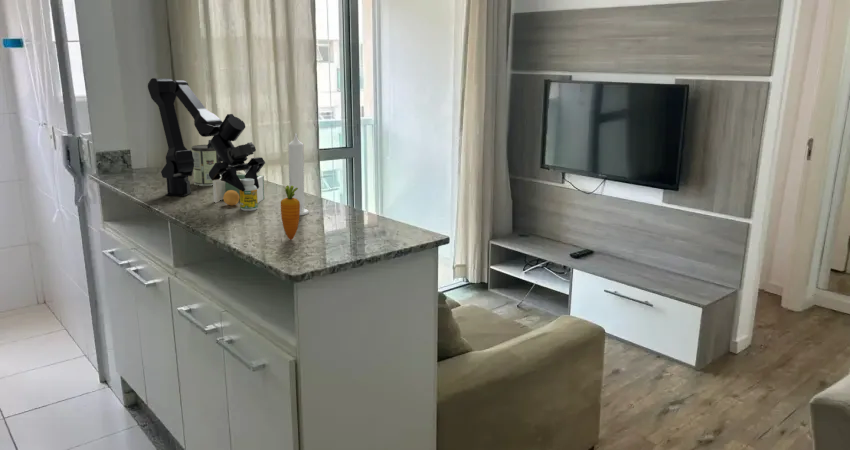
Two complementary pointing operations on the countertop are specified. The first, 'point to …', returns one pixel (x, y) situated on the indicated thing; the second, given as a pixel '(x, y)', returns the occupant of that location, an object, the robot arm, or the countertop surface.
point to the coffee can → (203, 164)
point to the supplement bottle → (248, 195)
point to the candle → (297, 171)
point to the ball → (231, 197)
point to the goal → (222, 188)
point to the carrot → (290, 212)
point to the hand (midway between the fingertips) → (251, 189)
